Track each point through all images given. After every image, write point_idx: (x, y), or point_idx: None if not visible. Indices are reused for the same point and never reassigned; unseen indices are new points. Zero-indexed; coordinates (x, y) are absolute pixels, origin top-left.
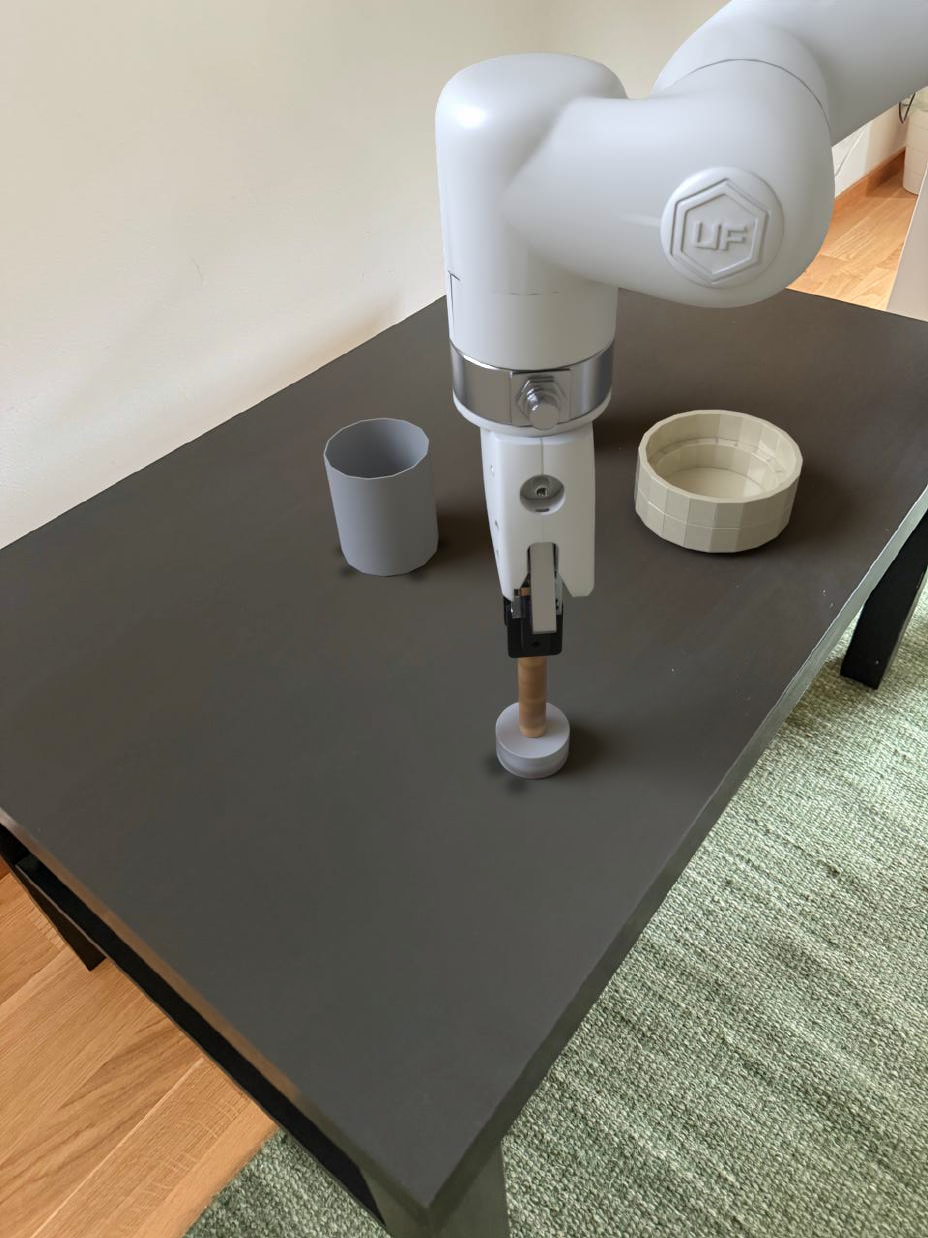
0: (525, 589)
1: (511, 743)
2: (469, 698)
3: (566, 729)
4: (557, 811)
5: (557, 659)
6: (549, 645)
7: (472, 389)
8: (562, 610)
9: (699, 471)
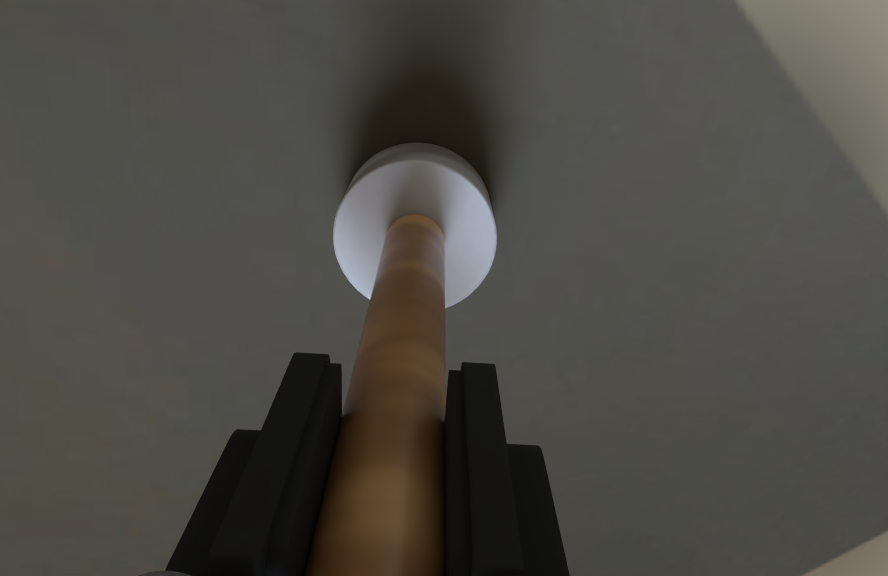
0: None
1: (449, 289)
2: (275, 312)
3: (430, 169)
4: (571, 194)
5: (163, 115)
6: (542, 467)
7: None
8: (519, 546)
9: None
